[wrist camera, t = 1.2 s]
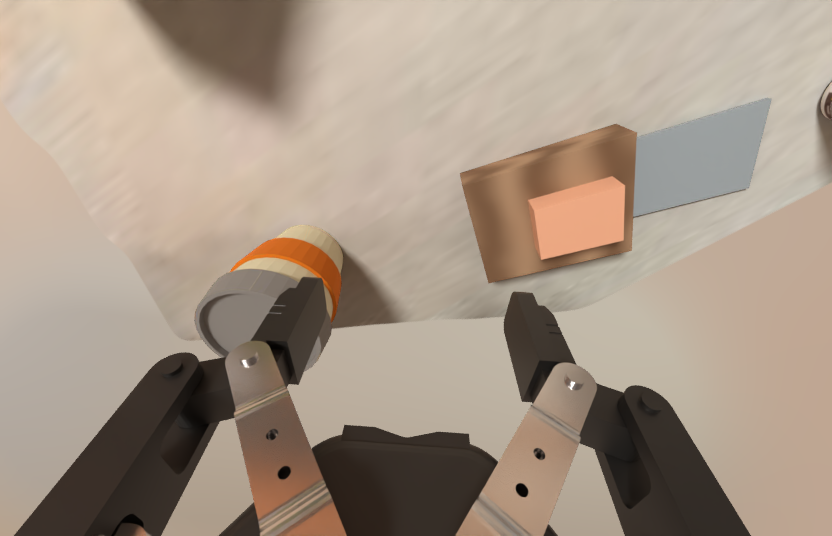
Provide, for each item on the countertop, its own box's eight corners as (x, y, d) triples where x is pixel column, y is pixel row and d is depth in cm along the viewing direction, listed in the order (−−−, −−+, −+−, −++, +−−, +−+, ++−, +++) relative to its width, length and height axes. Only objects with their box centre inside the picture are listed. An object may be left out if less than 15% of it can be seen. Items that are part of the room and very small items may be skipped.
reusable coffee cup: (302, 300, 47) (254, 388, 35) (243, 233, 41) (161, 311, 29) (373, 274, 44) (348, 361, 32) (321, 196, 38) (265, 268, 25)
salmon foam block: (612, 176, 30) (625, 185, 28) (612, 228, 34) (623, 240, 31) (527, 200, 32) (533, 210, 30) (535, 247, 35) (541, 259, 33)
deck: (615, 123, 31) (637, 132, 28) (615, 233, 38) (631, 250, 35) (460, 173, 35) (462, 186, 32) (484, 264, 42) (488, 283, 39)
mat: (766, 97, 29) (771, 98, 29) (745, 186, 34) (748, 187, 34) (615, 143, 32) (618, 144, 32) (615, 219, 37) (617, 220, 37)
